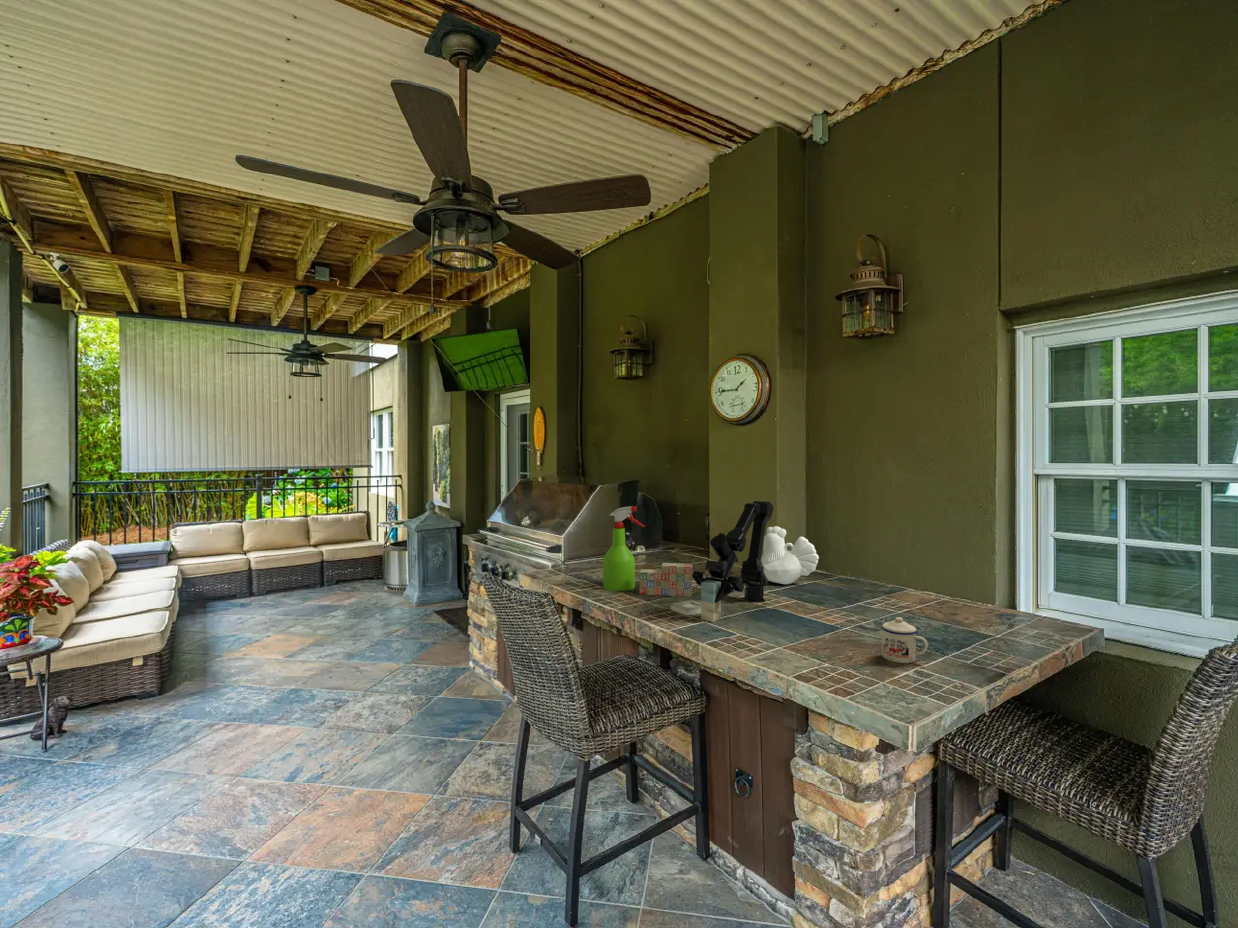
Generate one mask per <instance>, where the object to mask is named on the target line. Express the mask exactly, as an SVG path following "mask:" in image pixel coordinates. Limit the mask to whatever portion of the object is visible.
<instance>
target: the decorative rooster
mask: <svg viewBox="0 0 1238 928" xmlns="http://www.w3.org/2000/svg"><path fill="white" fill-rule="evenodd" d="M786 536H787V530H786V529H785V528H782V527H780V526H777V525H775V526H769V527H767V528H766V534H764V541H763V548H762V553H763V554H762V555H761V562H762V564H763V567H764V574H765V575H766V577H767V579H768V581H769V582H772V583H775V584H782V585H791V584H792V583H794V582H796V581H797V580H798V579H799V578H800V577H801V576H809V575H810V574H811V573H813V572H814V571H816V569H817V568H816V567H817V566H818V564H819V559H820V556H819V555H818V554H817V550H816V548H815V545H814V544H813V543H811V542H809V540H808V539H807V538H806V537H804V536H799V537H798V538H797V539H796V541H795V542H794V544H793V543H792V542H787V543H786V542H785V538H786ZM788 547H790V548H791V550H788ZM768 581H767V582H768Z"/></svg>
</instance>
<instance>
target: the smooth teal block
mask: <svg viewBox="0 0 1238 928" xmlns="http://www.w3.org/2000/svg"><path fill="white" fill-rule="evenodd" d="M700 586H701V587H700V588H701V589H700V590H701V592H700V604H701V613H700V620H702V621H703V620H704V621H708V622H713V623H714V622H716V621H718V620H721V619H722V617H721V615H722V613H721V612H722V609H721V608H722V604H721V603H722V599H721V600H720V601H719V602H717V603H715V599H716V596H717V594H718V592H719V590H720V587H721V582H718V581H713V580H707V581H704V582H701V585H700Z"/></svg>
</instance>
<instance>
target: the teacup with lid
mask: <svg viewBox="0 0 1238 928" xmlns="http://www.w3.org/2000/svg"><path fill="white" fill-rule="evenodd" d="M881 629H882V635H881V637H882V639H881V640H882V643H881V644H882V645H881V649H882V650H881V656H882V657H883V658H884V659H885V660H886V661H889V662H892V663H898V664H910V663H914V662H915V661H916V655H922V654H925V652H926V651H927V649H928V646H929V643H928V640H926V638H924V637H923V636H919V635H917V631H918V630H917V629H916V627H915V626H913V625H911V624H910V623H908V622H906V621H904V619H903V618H902V617H901V616H900V617H895V619H894V620H891V621H888V622H884V623H883V624H882V625H881ZM916 640H921V641H922V642H923V644H924V648H923V649H922V650H916V648H917V647H916V644H917V643H916Z"/></svg>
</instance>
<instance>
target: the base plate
mask: <svg viewBox="0 0 1238 928" xmlns="http://www.w3.org/2000/svg"><path fill="white" fill-rule="evenodd" d="M670 610H673V611H675V612H677V613H680V614H681V615H684V616H692V615H697V614H701V602H698V601H695V600H693V599H692V600H691V599H690V600H686V601H680V602H679V601H678V602H673V604H672V605H670Z"/></svg>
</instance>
